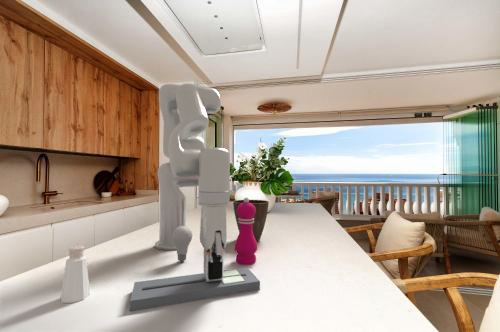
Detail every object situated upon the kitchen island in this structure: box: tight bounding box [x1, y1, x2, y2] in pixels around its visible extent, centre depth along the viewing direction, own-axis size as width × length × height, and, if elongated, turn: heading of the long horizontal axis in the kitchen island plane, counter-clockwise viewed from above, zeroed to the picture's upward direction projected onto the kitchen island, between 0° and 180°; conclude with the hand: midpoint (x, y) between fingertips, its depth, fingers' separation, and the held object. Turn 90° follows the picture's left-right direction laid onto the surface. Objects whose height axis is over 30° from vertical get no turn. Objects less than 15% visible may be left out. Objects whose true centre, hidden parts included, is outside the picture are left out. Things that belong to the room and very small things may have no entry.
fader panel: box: [129, 267, 261, 312], centre depth 58 cm, size 9×28×2 cm, turn 110°
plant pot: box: [232, 199, 270, 243], centre depth 103 cm, size 15×15×16 cm
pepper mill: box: [234, 197, 258, 266], centre depth 78 cm, size 7×7×20 cm
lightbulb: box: [172, 226, 193, 263], centre depth 77 cm, size 6×6×11 cm
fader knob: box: [203, 246, 225, 282], centre depth 60 cm, size 4×4×7 cm
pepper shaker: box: [59, 245, 91, 304], centre depth 55 cm, size 5×5×11 cm
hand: (213, 273), depth 60 cm, fingers closed on fader knob, 4 cm apart
